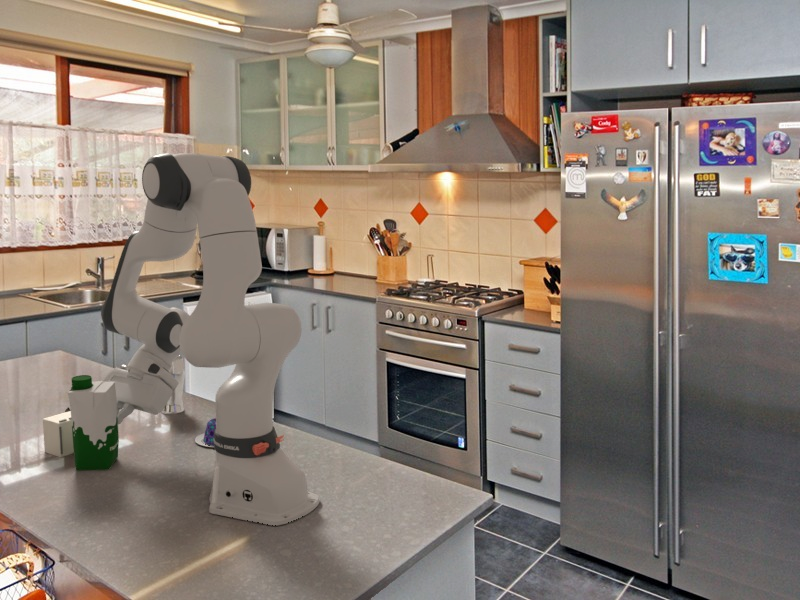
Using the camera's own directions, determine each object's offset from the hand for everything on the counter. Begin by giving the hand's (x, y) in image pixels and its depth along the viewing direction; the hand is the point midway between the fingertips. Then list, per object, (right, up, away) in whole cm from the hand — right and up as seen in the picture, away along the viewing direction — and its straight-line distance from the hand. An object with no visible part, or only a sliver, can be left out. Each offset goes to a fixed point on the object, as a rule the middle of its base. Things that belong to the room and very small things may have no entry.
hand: (113, 421), depth 168 cm
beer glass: (+3, -3, +35) cm, 36 cm away
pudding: (+21, -7, +14) cm, 26 cm away
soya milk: (-2, -9, -3) cm, 10 cm away
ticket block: (-11, -7, +8) cm, 16 cm away
